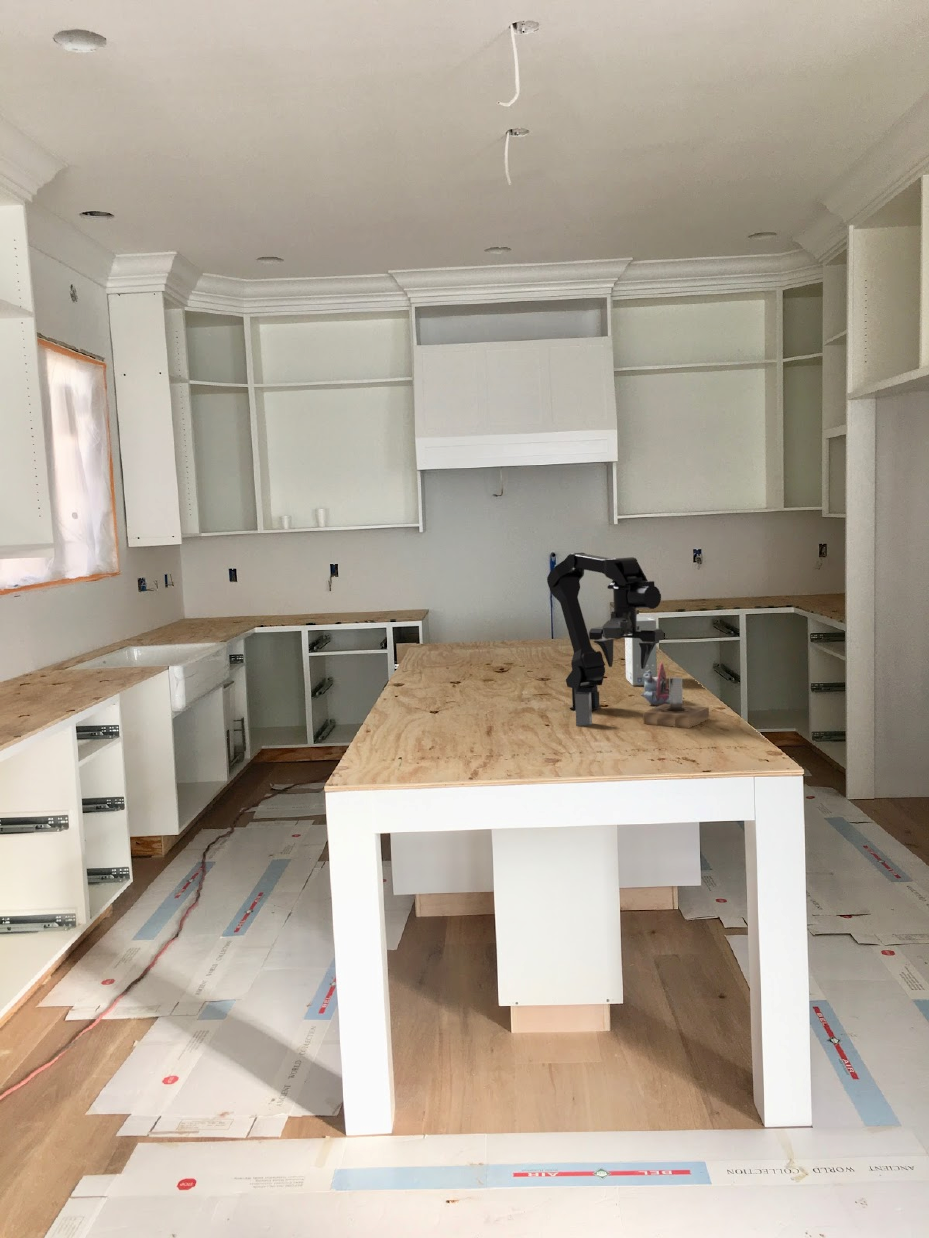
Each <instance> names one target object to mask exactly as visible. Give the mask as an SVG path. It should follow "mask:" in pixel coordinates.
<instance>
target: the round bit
mask: <svg viewBox="0 0 929 1238" xmlns="http://www.w3.org/2000/svg"><path fill="white" fill-rule="evenodd" d="M668 689H669V699H670V711H674V712H679V711H683V705H684V701H683V700H684V699H683V697H684V696H683V695H684V694H683V677H680V676H673V677H669V678H668Z"/></svg>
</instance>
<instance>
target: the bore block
mask: <svg viewBox="0 0 929 1238" xmlns="http://www.w3.org/2000/svg"><path fill="white" fill-rule="evenodd" d="M709 710H710V707H709V706H707V707H706V706H697V705H686V704H685V705H684V704H683V711H679V712H674V711H670V704H663V705H657V706H656V707H653V708H650V709H648V710H645V711H643V724H644V725H651V726H661V727H671V726H673V727H672V728H681V727H682V728H681V729H684V728H685V729H691V728H693V727H695V726H697V725H699V724H701V723H700V722H702V723H704V722H706V721H708V720H710V711H709ZM707 719H708V720H707ZM705 720H706V721H705ZM692 726H693V727H692Z"/></svg>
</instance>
